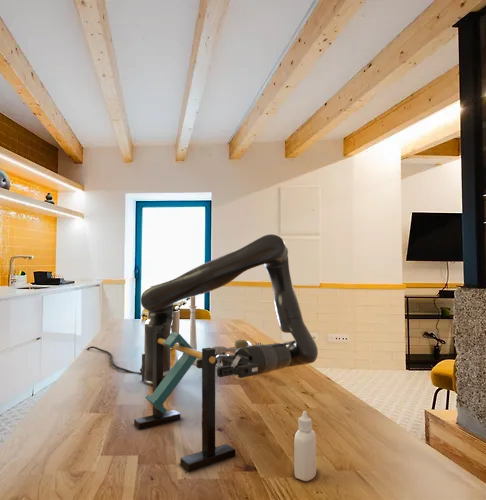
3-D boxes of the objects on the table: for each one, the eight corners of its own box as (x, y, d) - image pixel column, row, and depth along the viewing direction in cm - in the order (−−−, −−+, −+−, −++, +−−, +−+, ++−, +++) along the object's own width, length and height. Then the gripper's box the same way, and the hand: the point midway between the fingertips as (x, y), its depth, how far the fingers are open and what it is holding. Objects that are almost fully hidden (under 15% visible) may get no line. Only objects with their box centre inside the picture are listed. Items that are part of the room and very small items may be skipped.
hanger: (155, 408, 86) (194, 356, 92) (164, 414, 83) (203, 360, 89) (129, 382, 83) (171, 331, 89) (137, 388, 80) (180, 333, 86)
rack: (174, 415, 101) (174, 329, 102) (235, 456, 80) (235, 347, 80) (134, 425, 95) (134, 333, 96) (188, 472, 73) (188, 353, 74)
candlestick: (171, 361, 157) (172, 289, 158) (188, 355, 168) (188, 287, 169) (198, 365, 150) (198, 290, 151) (213, 359, 161) (213, 288, 162)
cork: (249, 371, 143) (249, 342, 143) (233, 370, 144) (233, 341, 145) (249, 366, 149) (249, 338, 149) (233, 366, 150) (233, 338, 151)
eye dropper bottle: (286, 471, 74) (285, 409, 74) (309, 466, 76) (309, 405, 76) (301, 483, 70) (300, 418, 70) (325, 477, 72) (324, 414, 72)
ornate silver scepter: (205, 341, 158) (215, 337, 152) (273, 344, 172) (284, 340, 165) (207, 361, 155) (217, 358, 148) (276, 361, 168) (287, 358, 162)
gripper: (238, 340, 106) (191, 347, 98) (276, 350, 94) (225, 359, 86) (238, 367, 106) (191, 376, 98) (276, 381, 94) (225, 392, 86)
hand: (207, 368), depth 92 cm, fingers open, 8 cm apart
